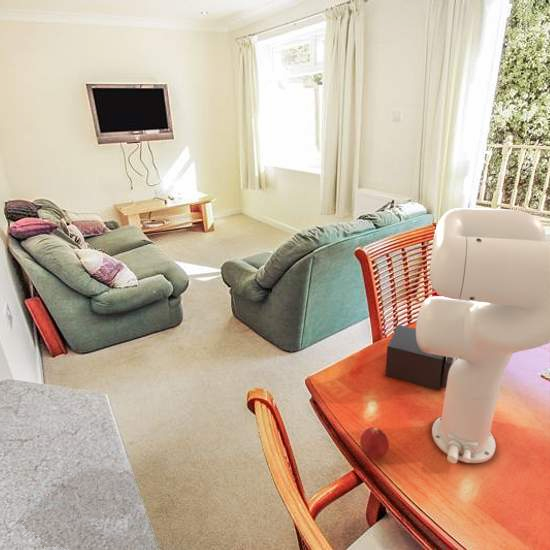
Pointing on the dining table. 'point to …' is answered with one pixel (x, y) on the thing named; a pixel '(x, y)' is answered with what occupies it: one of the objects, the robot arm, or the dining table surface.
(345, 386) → the dining table surface
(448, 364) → the basket
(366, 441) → the onion
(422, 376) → the dark grey box
